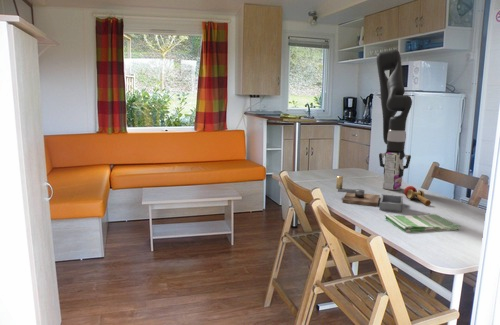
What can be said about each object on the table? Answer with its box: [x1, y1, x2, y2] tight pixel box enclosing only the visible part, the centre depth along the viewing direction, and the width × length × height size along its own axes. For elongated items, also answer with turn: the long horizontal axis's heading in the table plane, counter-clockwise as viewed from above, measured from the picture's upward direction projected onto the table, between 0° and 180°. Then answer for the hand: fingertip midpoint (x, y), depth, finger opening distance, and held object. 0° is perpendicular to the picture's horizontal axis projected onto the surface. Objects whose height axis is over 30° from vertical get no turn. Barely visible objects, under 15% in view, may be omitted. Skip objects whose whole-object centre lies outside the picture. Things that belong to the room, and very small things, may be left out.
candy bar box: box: [383, 152, 404, 191], centre depth 184 cm, size 11×5×16 cm, turn 143°
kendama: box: [403, 185, 432, 207], centre depth 198 cm, size 8×6×18 cm
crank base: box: [342, 192, 381, 207], centre depth 197 cm, size 16×16×2 cm
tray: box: [379, 193, 404, 213], centre depth 187 cm, size 10×16×4 cm, turn 159°
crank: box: [335, 175, 365, 198], centre depth 198 cm, size 14×4×9 cm, turn 69°
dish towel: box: [384, 213, 461, 233], centre depth 162 cm, size 18×23×3 cm
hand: (393, 176), depth 184 cm, fingers closed on candy bar box, 5 cm apart
